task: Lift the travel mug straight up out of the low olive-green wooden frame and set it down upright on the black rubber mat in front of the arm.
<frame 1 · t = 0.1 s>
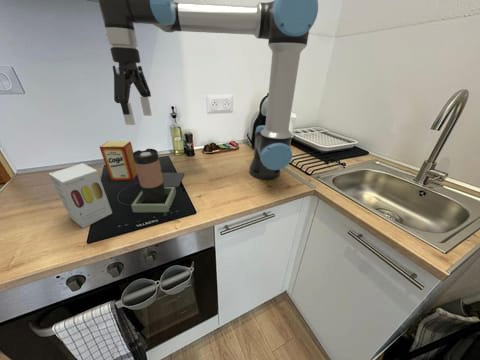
hand: (140, 119, 70), 28 cm above the table, tool pointing down, fingers open, 13 cm apart
rubber mat: (168, 180, 89), on the table
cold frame: (156, 202, 74), on the table
supplement box: (92, 215, 67), on the table
baking soda box: (125, 177, 90), on the table
travel mug: (156, 202, 75), resting in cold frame
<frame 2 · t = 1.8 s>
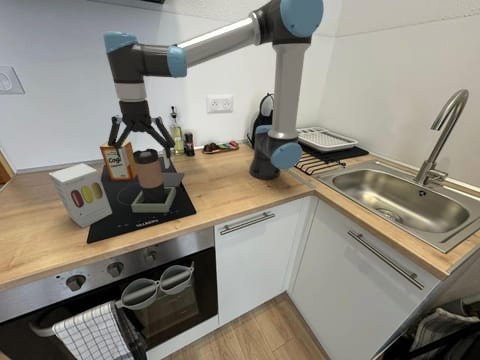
hand: (147, 166, 67), 15 cm above the table, tool pointing down, fingers open, 13 cm apart
nothing on the table moved.
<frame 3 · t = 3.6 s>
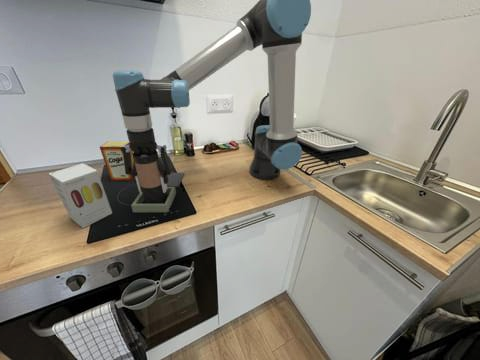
hand: (153, 190, 72), 5 cm above the table, tool pointing down, fingers closed on travel mug, 8 cm apart
travel mug: (156, 202, 75), resting in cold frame, touching gripper
everything else where it was.
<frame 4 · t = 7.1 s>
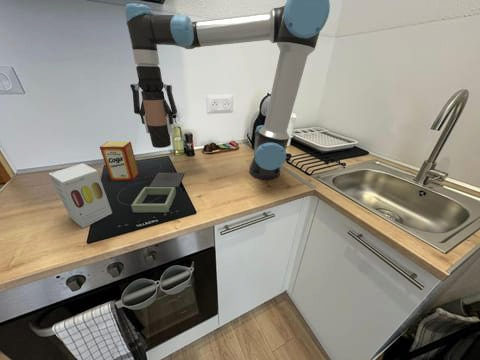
hand: (159, 132, 78), 22 cm above the table, tool pointing down, fingers closed on travel mug, 8 cm apart
travel mug: (161, 145, 80), point 16 cm above the table, touching gripper
everything else where it was.
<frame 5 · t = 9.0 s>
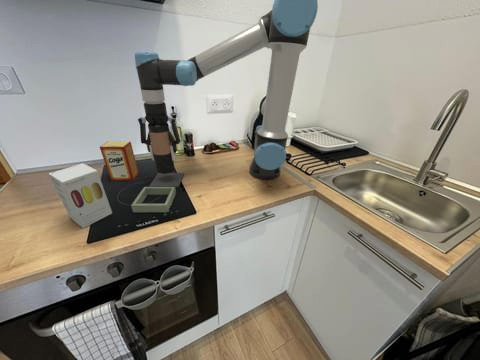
hand: (164, 159, 84), 10 cm above the table, tool pointing down, fingers closed on travel mug, 8 cm apart
travel mug: (166, 170, 86), point 5 cm above the table, touching gripper
everything else where it was.
when the fingers open (7 cm above the table, at t = 10.5 s): travel mug drops 1 cm, resting on rubber mat.
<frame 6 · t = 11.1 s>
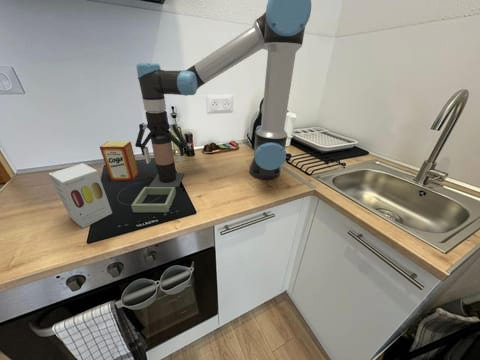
hand: (164, 162, 84), 9 cm above the table, tool pointing down, fingers open, 13 cm apart
travel mug: (168, 179, 89), resting on rubber mat
everything else where it was.
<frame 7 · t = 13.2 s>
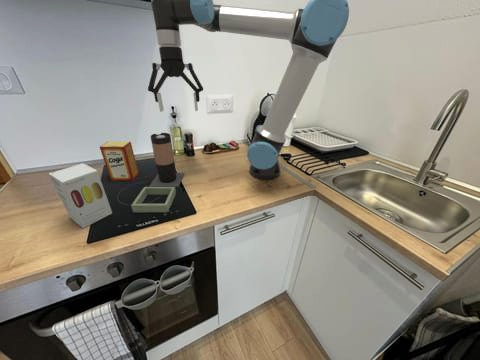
hand: (179, 110, 79), 29 cm above the table, tool pointing down, fingers open, 13 cm apart
nothing on the table moved.
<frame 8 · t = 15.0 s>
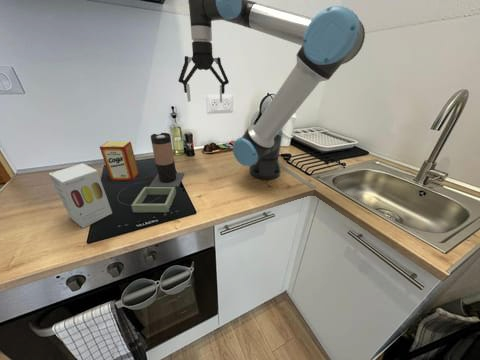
hand: (205, 101, 85), 32 cm above the table, tool pointing down, fingers open, 13 cm apart
nothing on the table moved.
at the end: travel mug inside the target area on the rubber mat (0.1 cm from its centre), point 0.4 cm above the rubber mat's base; travel mug tilted 0°; the gripper is holding nothing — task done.
